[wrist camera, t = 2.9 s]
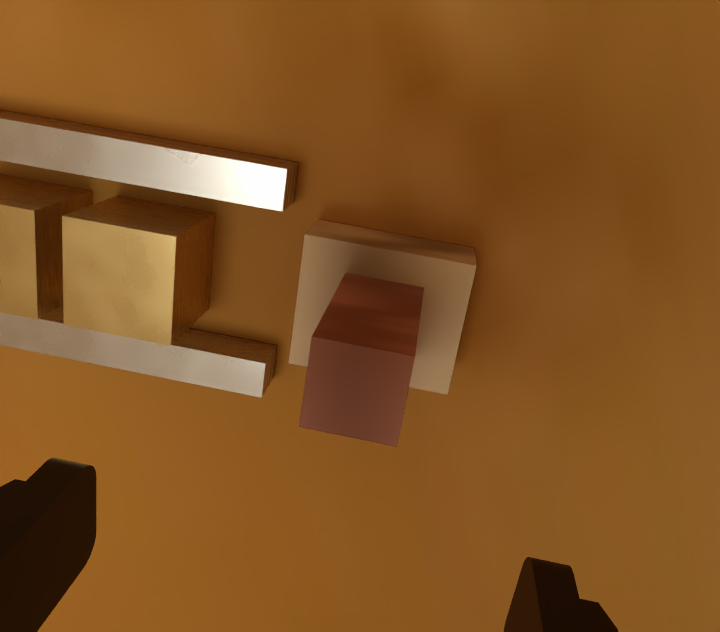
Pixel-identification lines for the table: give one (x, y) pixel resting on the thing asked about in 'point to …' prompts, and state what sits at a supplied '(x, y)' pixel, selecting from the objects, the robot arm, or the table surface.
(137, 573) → the table surface
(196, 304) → the pale yellow cube
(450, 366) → the block on square base
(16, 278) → the tan cube
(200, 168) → the rail
